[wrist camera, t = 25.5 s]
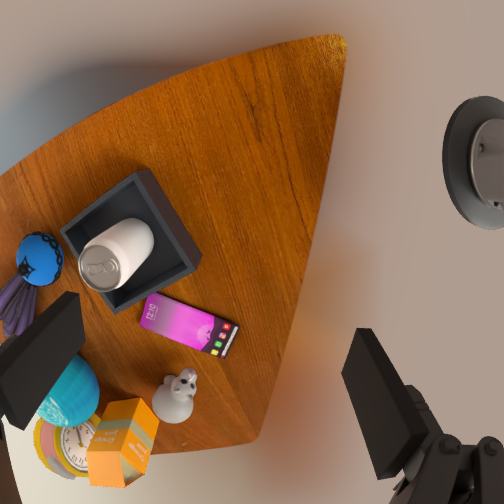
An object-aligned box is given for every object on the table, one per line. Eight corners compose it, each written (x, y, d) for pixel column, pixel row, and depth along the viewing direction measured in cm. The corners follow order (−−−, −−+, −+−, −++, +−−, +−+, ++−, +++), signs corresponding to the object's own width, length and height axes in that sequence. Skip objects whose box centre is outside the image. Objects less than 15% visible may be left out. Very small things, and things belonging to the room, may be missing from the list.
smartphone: (224, 357, 50) (224, 360, 49) (140, 324, 48) (138, 327, 47) (240, 323, 48) (240, 326, 47) (150, 288, 46) (148, 291, 45)
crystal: (0, 263, 38) (-26, 331, 41) (47, 309, 42) (14, 368, 45) (19, 249, 45) (-10, 314, 48) (62, 290, 49) (27, 348, 52)
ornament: (28, 245, 44) (-7, 265, 35) (52, 215, 42) (15, 231, 33) (56, 283, 46) (24, 309, 37) (82, 256, 45) (50, 281, 35)
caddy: (202, 255, 45) (196, 270, 39) (127, 297, 47) (114, 315, 41) (149, 168, 41) (135, 171, 35) (78, 220, 43) (58, 230, 37)
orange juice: (160, 421, 56) (139, 498, 37) (127, 425, 57) (102, 495, 38) (140, 396, 54) (111, 475, 35) (108, 401, 55) (75, 473, 36)
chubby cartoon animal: (216, 367, 51) (211, 401, 43) (186, 404, 54) (179, 436, 46) (179, 347, 50) (169, 380, 42) (153, 387, 53) (141, 418, 45)
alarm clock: (115, 433, 59) (93, 493, 41) (91, 435, 60) (68, 489, 42) (78, 389, 54) (43, 450, 37) (55, 392, 55) (21, 447, 38)
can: (159, 256, 44) (132, 291, 32) (121, 263, 44) (86, 298, 33) (148, 212, 42) (114, 236, 30) (109, 222, 42) (68, 247, 31)
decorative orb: (119, 395, 54) (95, 449, 40) (62, 387, 54) (34, 433, 40) (96, 335, 49) (59, 388, 35) (37, 331, 50) (-3, 374, 35)
